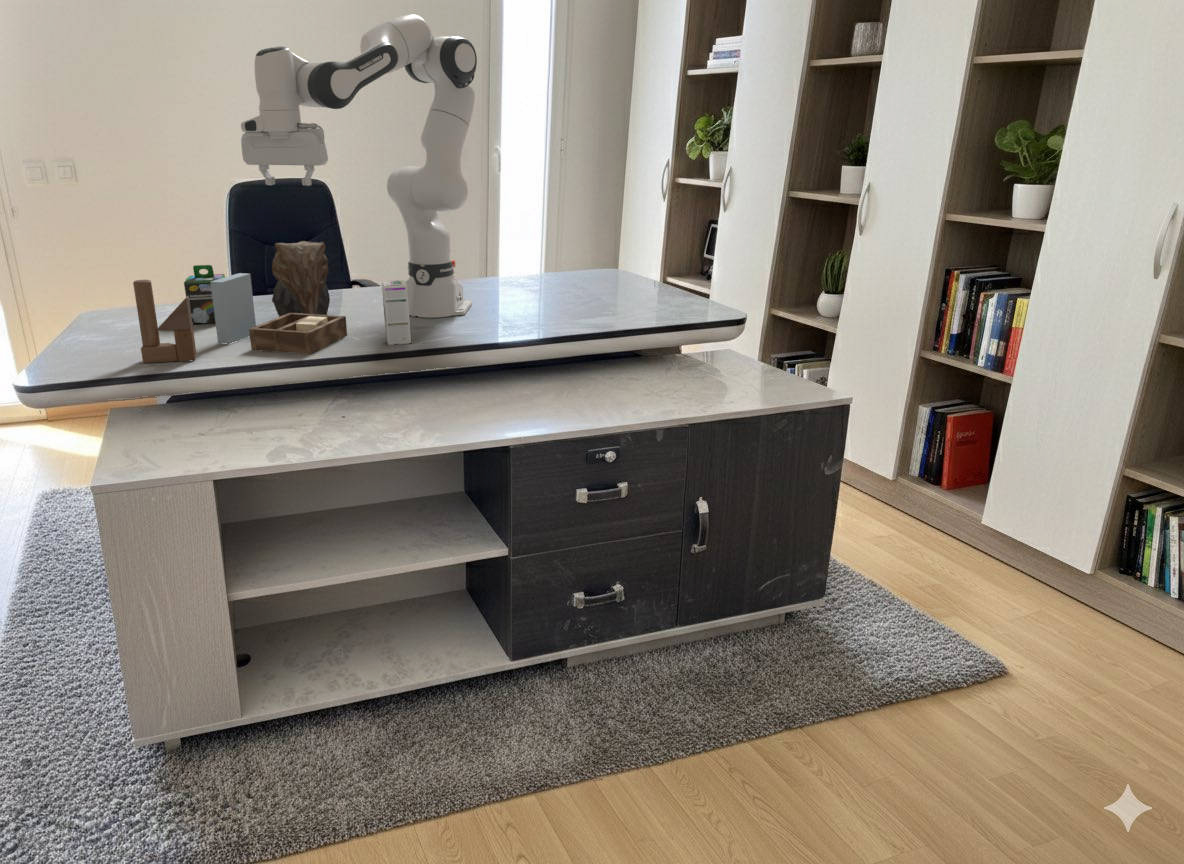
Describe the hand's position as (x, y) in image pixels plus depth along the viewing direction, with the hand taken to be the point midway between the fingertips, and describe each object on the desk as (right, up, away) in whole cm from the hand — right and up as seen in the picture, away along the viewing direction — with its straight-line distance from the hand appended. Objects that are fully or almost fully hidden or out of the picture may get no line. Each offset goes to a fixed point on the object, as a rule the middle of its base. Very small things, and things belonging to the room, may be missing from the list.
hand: (288, 185), depth 218 cm
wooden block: (-23, -42, -10) cm, 49 cm away
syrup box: (+24, -36, +8) cm, 44 cm away
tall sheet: (-16, -35, +10) cm, 40 cm away
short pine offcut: (+4, -33, +4) cm, 34 cm away
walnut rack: (+1, -36, +6) cm, 37 cm away
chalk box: (-30, -29, +28) cm, 50 cm away
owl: (-6, -28, +31) cm, 42 cm away
